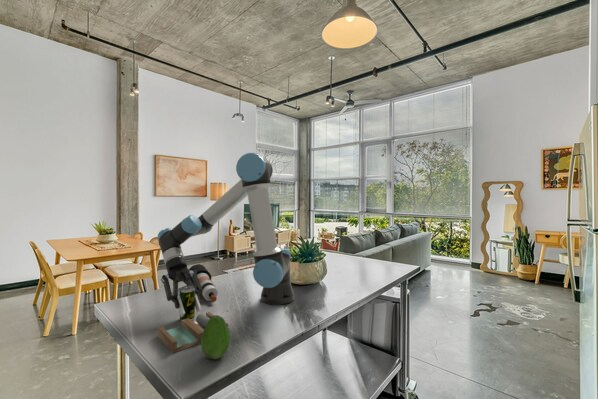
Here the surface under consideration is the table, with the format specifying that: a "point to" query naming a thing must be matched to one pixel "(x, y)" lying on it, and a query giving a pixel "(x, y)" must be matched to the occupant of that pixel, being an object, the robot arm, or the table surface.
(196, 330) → the caddy
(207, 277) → the cable
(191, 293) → the beer can
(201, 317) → the smooth gray cylinder
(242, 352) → the table surface
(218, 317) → the avocado
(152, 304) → the table surface
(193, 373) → the table surface
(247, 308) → the table surface
